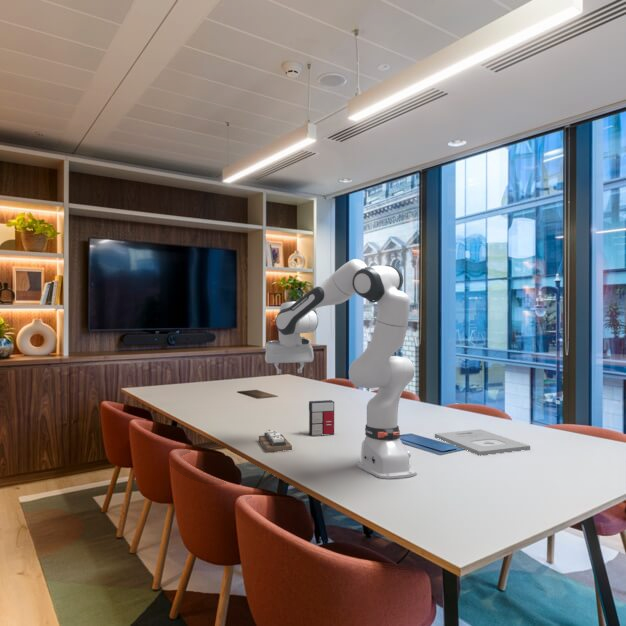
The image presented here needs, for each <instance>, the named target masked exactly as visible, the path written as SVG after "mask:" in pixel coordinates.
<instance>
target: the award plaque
mask: <svg viewBox="0 0 626 626" xmlns="http://www.w3.org/2000/svg"><path fill="white" fill-rule="evenodd" d="M435 437H436V438H435ZM434 438H435V439H437V438H439V439H438V440H440V439H441V440H440V441H442V440H443V441H442V442H445V441H446V442H445V443H447V442H448V444H450V445H452V444H453V446H454V445H456V446H455V447H457V446H458V447H457V448H459V447H461V448H460V449H462V448H464V449H466V450H465V451H467V450H468V451H467V452H469V451H470V452H469V453H472V454H474V453H475V454H474V455H476V454H477V456H479V455H480V456H479V457H482V456H481V455H483V456H489V455H488V454H492V455H497V454H496V453H500V454H505V453H504V452H508V453H513V452H512V451H517V452H521V450H525V451H530V450H531V445H529V444H526V443H523V442H520V441H517V440H514V439H511V438H508V437H505V436H502V435H499V434H496V433H493V432H490V431H487V430H484V429H481V428H480V429H469V430H460V431H459V430H458V431H449V432H440V433H439V432H438V433H434ZM464 449H463V450H464Z"/></svg>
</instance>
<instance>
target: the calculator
mask: <svg viewBox="0 0 626 626" xmlns="http://www.w3.org/2000/svg"><path fill="white" fill-rule="evenodd" d="M308 415H309V416H308V417H309V418H308V419H309V421H308V425H309V426H308V433H309V436H311V435H321V436H323V435H322V434H334V435H335V401H334V400H331V399H329V400H310V401H309V402H308Z"/></svg>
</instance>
